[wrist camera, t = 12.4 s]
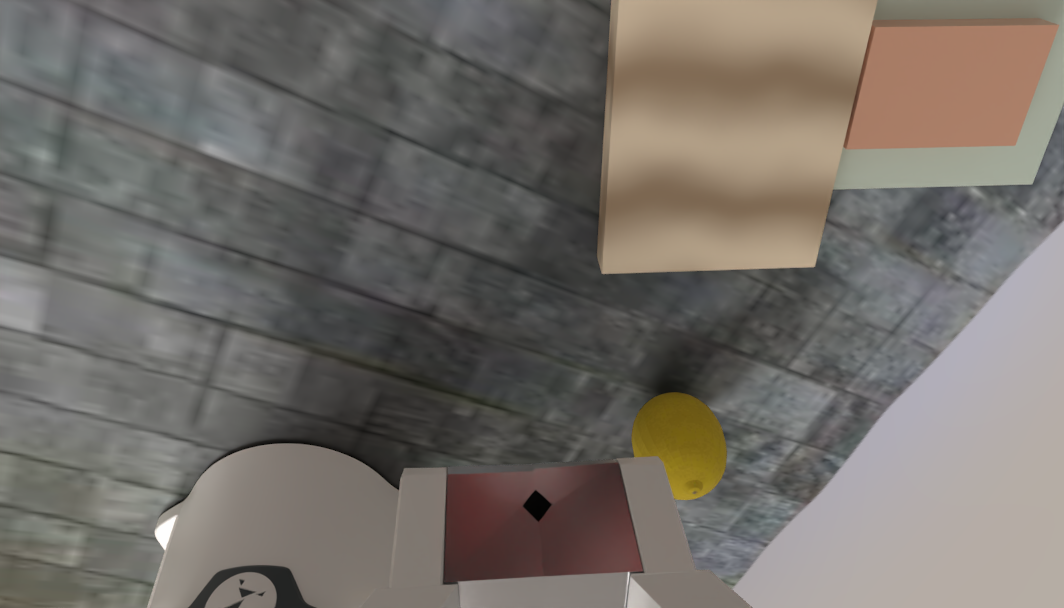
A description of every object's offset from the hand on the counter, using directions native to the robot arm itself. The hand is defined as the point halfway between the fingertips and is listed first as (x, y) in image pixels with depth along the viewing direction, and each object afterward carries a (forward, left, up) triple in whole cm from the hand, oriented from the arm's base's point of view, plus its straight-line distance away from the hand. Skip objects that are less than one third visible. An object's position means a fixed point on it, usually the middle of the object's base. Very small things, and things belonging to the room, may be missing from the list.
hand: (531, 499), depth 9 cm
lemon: (-25, -11, -31) cm, 42 cm away
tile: (-4, -23, -31) cm, 38 cm away
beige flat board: (-4, -12, -31) cm, 34 cm away
